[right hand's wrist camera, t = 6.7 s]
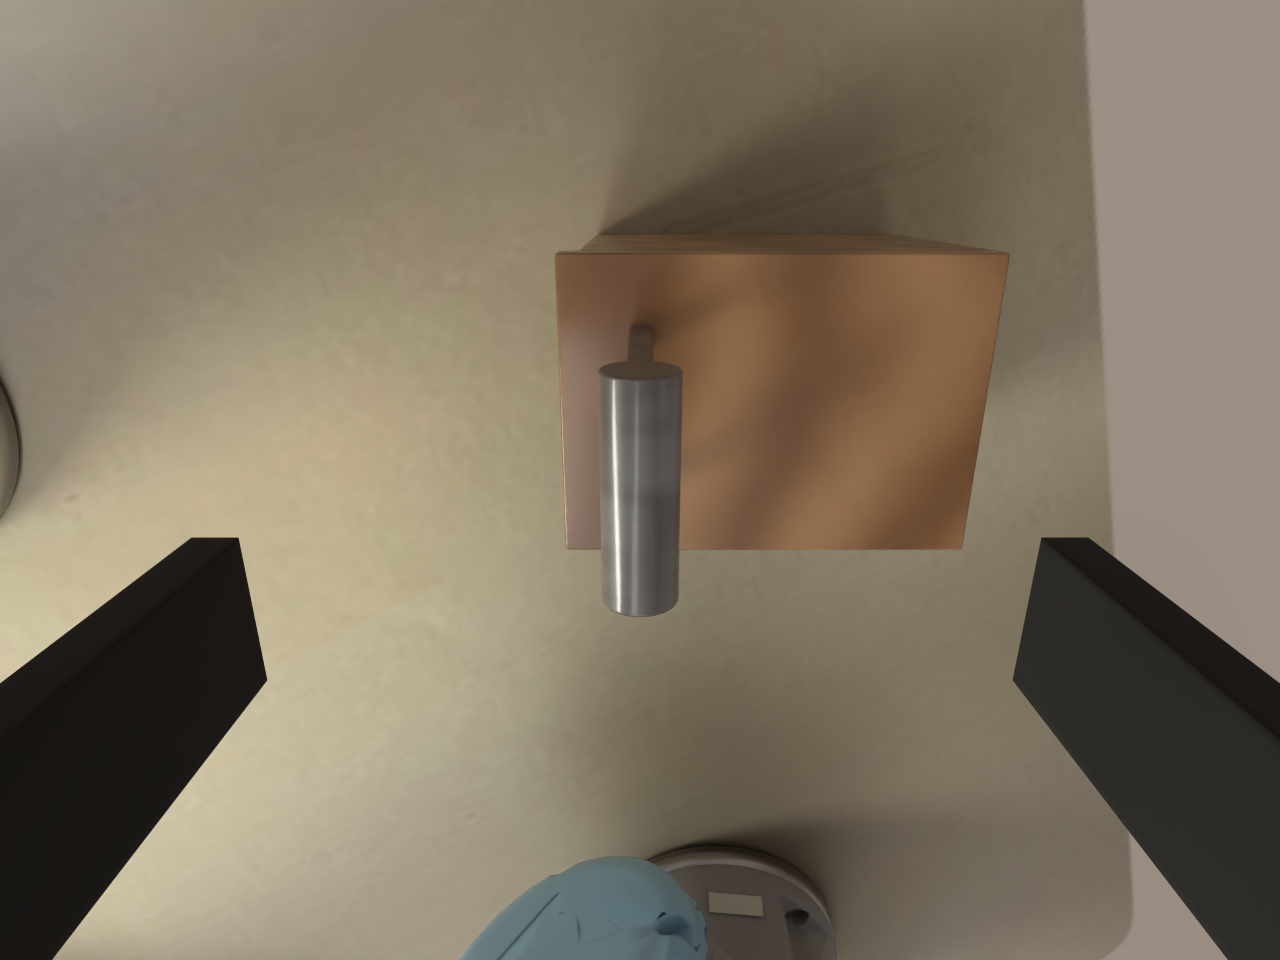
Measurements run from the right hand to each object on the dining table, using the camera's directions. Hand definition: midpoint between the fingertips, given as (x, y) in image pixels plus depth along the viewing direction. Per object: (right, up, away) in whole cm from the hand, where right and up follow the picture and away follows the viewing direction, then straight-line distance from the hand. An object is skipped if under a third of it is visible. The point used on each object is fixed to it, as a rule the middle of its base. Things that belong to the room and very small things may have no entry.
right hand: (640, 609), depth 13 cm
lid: (+4, +5, +13) cm, 14 cm away
